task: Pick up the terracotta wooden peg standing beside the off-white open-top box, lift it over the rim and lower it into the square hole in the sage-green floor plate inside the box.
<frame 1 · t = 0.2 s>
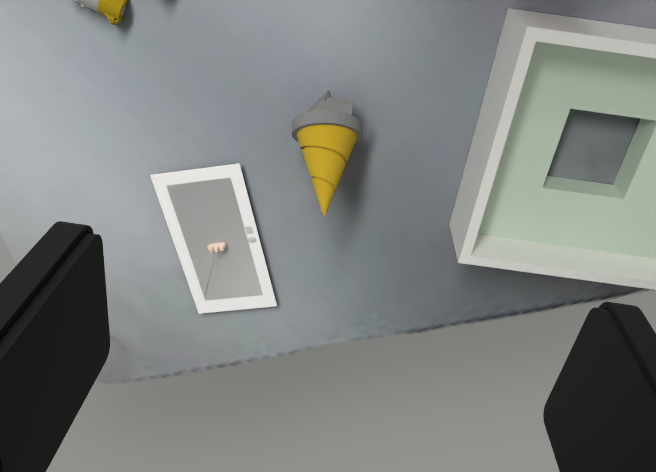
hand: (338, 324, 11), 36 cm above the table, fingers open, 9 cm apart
yellow tapered spiral part: (334, 130, 48), on the table
white grey flat rectangle: (220, 237, 54), on the table
holed box: (587, 142, 47), on the table
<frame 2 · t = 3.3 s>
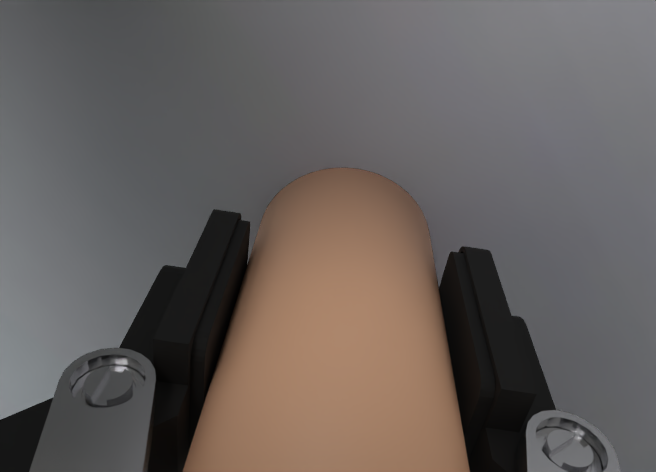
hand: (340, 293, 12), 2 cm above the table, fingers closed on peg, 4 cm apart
peg: (343, 245, 14), on the table, touching gripper
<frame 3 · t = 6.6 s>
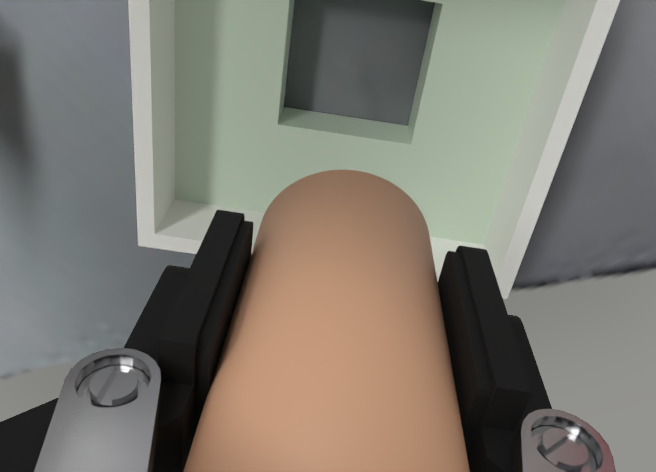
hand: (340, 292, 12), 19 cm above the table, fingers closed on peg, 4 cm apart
peg: (343, 247, 14), point 18 cm above the table, touching gripper
holed box: (356, 53, 29), on the table
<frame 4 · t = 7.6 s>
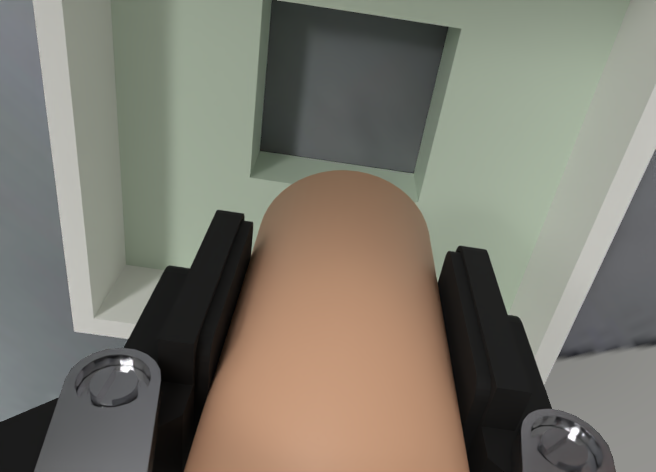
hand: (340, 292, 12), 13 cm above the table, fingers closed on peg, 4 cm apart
peg: (343, 248, 14), point 11 cm above the table, touching gripper
holed box: (349, 86, 23), on the table
when the fingers open (3 cm above the table, at t = 9.9 s): peg drops 1 cm, resting in holed box.
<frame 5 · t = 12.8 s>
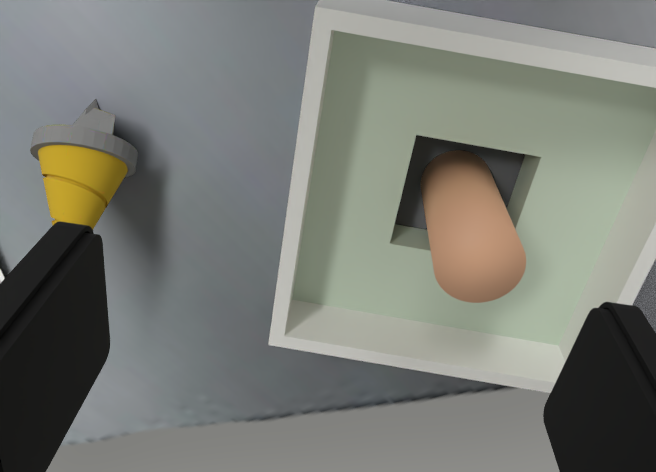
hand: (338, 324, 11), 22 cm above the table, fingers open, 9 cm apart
yellow tapered spiral part: (114, 154, 35), on the table
peg: (455, 183, 34), resting in holed box
holed box: (456, 183, 34), on the table
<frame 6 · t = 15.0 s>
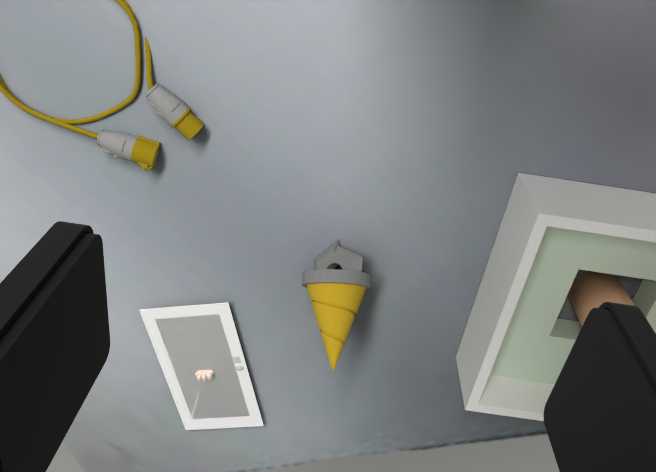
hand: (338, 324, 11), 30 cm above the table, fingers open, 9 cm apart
extension cord: (87, 68, 41), on the table
yellow tapered spiral part: (343, 272, 48), on the table
white grey flat rectangle: (208, 361, 55), on the table
peg: (593, 290, 47), resting in holed box
holed box: (594, 290, 47), on the table
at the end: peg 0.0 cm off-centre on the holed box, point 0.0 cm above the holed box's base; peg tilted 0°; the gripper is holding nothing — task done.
